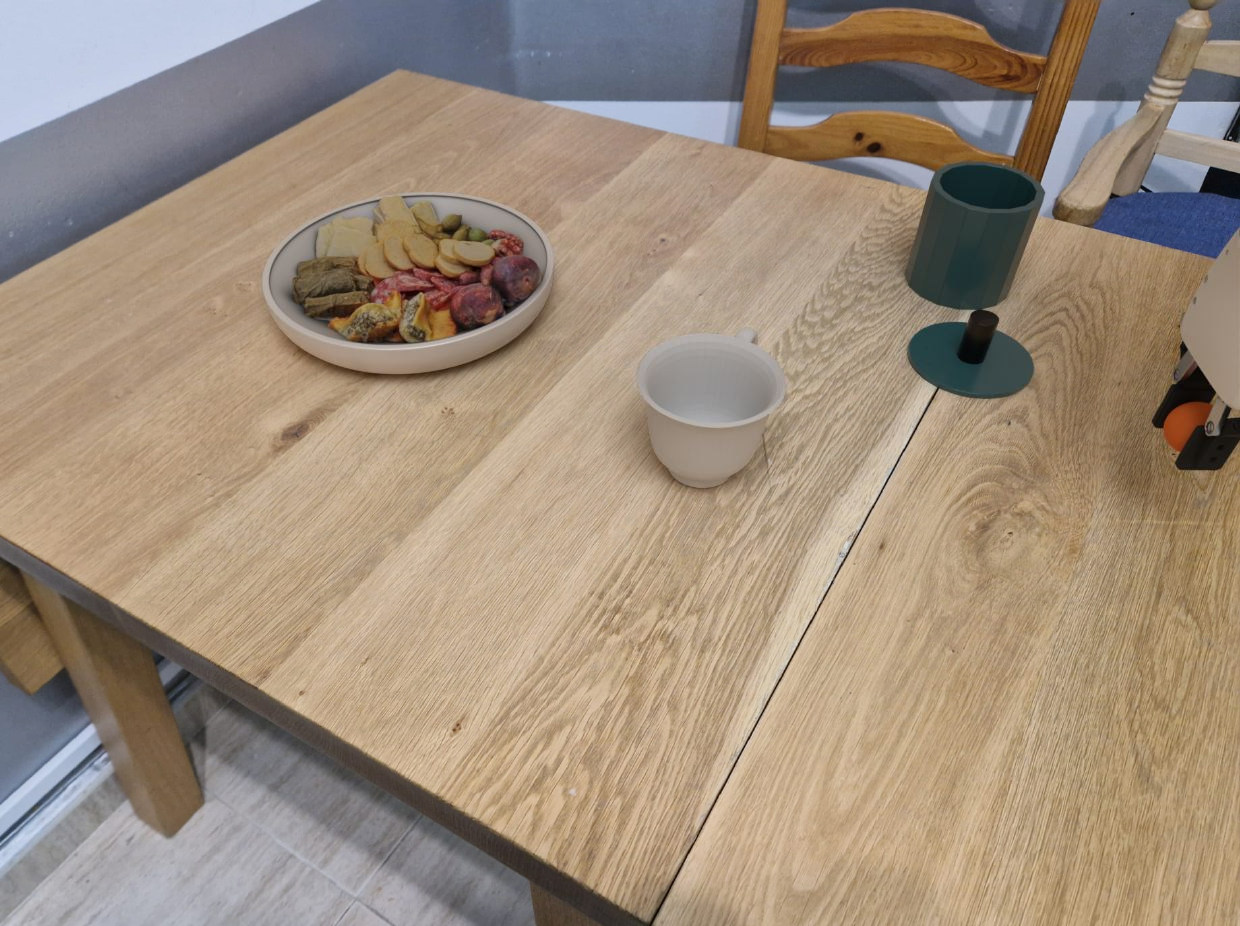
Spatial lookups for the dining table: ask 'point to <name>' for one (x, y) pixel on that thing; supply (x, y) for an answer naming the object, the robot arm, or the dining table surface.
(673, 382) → the teacup
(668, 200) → the dining table surface
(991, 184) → the teal hollow cylinder
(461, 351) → the bowl
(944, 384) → the canister lid
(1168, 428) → the ball
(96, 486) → the dining table surface
